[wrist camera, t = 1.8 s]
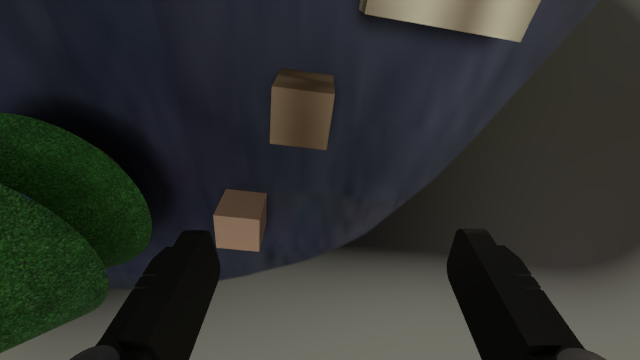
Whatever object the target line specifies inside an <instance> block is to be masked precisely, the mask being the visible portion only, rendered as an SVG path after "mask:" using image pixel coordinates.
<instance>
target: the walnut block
mask: <svg viewBox="0 0 640 360" xmlns="http://www.w3.org/2000/svg"><path fill="white" fill-rule="evenodd" d="M334 98H335V89H334V77H333V75H327V74H320V73H312V72H305V71H297V70H290V69H282V68H281V70H280V72H279V74H278V75H277V77H276V79H275V81H274V83H273V85H272V91H271V122H270V144H278V145H286V146H295V147H303V148H312V149H320V150H327V143H328V137H329V130H330V124H331V117H332V111H333V104H334Z"/></svg>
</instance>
